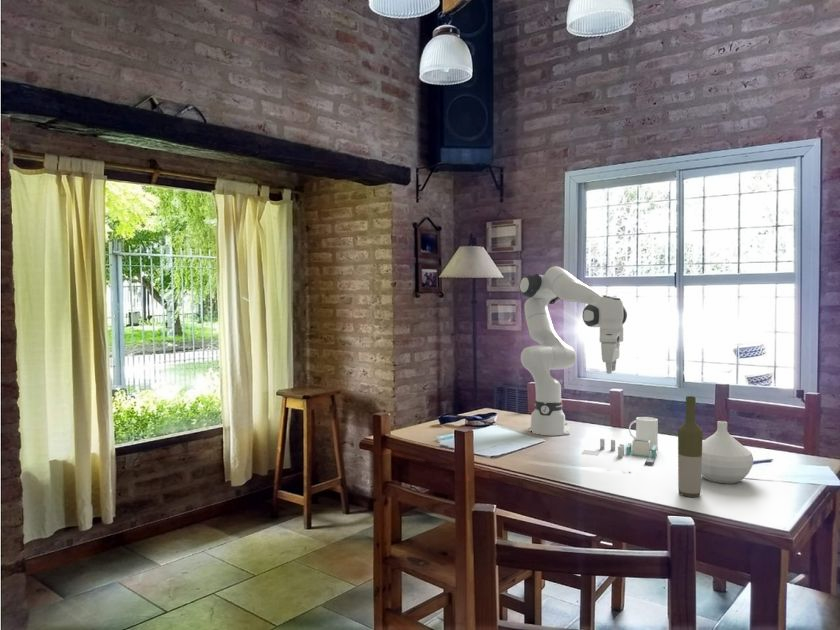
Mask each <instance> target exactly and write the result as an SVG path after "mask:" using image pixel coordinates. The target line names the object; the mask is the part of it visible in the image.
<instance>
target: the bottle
mask: <svg viewBox="0 0 840 630" xmlns="http://www.w3.org/2000/svg"><path fill="white" fill-rule="evenodd" d="M696 399H697V398H696V396H686V397H685V422H684V423H683V424H682V425H681V426H680V427H679V428H678V431H677V457H678V458H677V462H678V464H677V468H678V470H677V471H678V473H677V474H678V475H677V478H678V481H677V483H678V484H677V485H678V487H677V488H678V490H677V491H678V493H679V494H680V495H682V496H684V497H687V498H688V497H689V498H697V497H700V496H701V492H702V491H701V490H702V475H701V468H702V441H703V435H704V434H703V433H704V432H703V430H702V429H701V427H700V426H699V424H697V422H696V401H697V400H696Z"/></svg>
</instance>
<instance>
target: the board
mask: <svg viewBox="0 0 840 630" xmlns="http://www.w3.org/2000/svg"><path fill="white" fill-rule="evenodd" d="M605 441H606V440H605V438H600V440H599V443H600V444H599V447H600V448H599V449H600V450H602V451H603V450H605V448H606V447H605ZM610 451H613V452H614V451H616V439H610ZM650 452H651V453H652V451H650ZM600 453H601V451H597V450H589V449H584V450H583V451H581V455H590V456H598V455H599V454H600ZM657 453H658V452H656V456H655V458H651V457H646V460H645V462H644V465H645V466H646V465H647V466H654V465H655V464H654V463H655V461H656V459H657ZM623 456H625V444H623V443H620V444H619V445H618V446H617V458H618V459H623Z"/></svg>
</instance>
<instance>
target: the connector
mask: <svg viewBox="0 0 840 630" xmlns="http://www.w3.org/2000/svg"><path fill="white" fill-rule="evenodd" d="M632 439H633V440H632V442H631V450H632V454H637V455H646V456H649V455H650V452H651V451H650V450H651V448H650V440H649V439H638V438H635V439H634V438H632Z"/></svg>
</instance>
